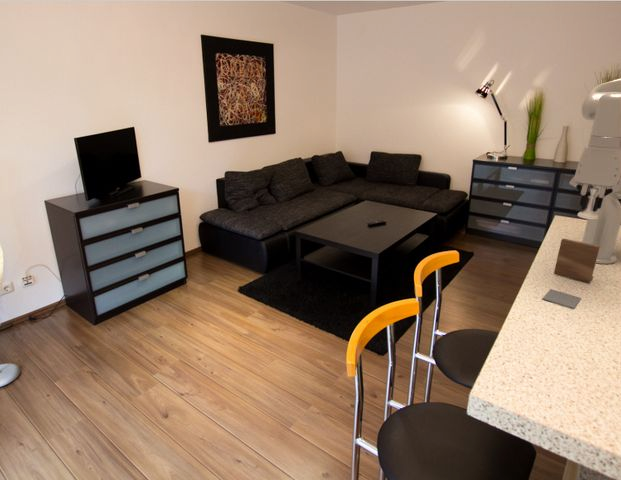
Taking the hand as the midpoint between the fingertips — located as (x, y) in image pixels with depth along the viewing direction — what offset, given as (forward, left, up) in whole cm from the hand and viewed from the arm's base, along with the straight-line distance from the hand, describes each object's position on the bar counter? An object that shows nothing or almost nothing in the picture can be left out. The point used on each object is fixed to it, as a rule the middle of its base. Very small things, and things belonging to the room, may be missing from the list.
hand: (589, 209), depth 115 cm
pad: (+9, 0, -25) cm, 27 cm away
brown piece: (-11, -2, -25) cm, 27 cm away
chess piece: (0, 0, -2) cm, 2 cm away
